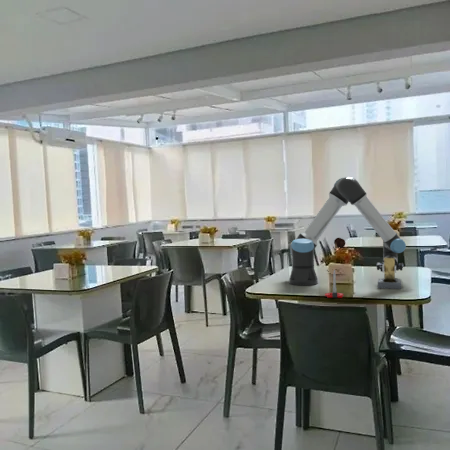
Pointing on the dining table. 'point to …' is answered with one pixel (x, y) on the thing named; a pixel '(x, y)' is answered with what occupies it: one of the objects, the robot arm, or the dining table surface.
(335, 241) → the dark brown rounded piece
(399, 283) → the jig
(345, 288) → the dining table surface
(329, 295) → the grey spike red base
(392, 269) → the golden tall block
